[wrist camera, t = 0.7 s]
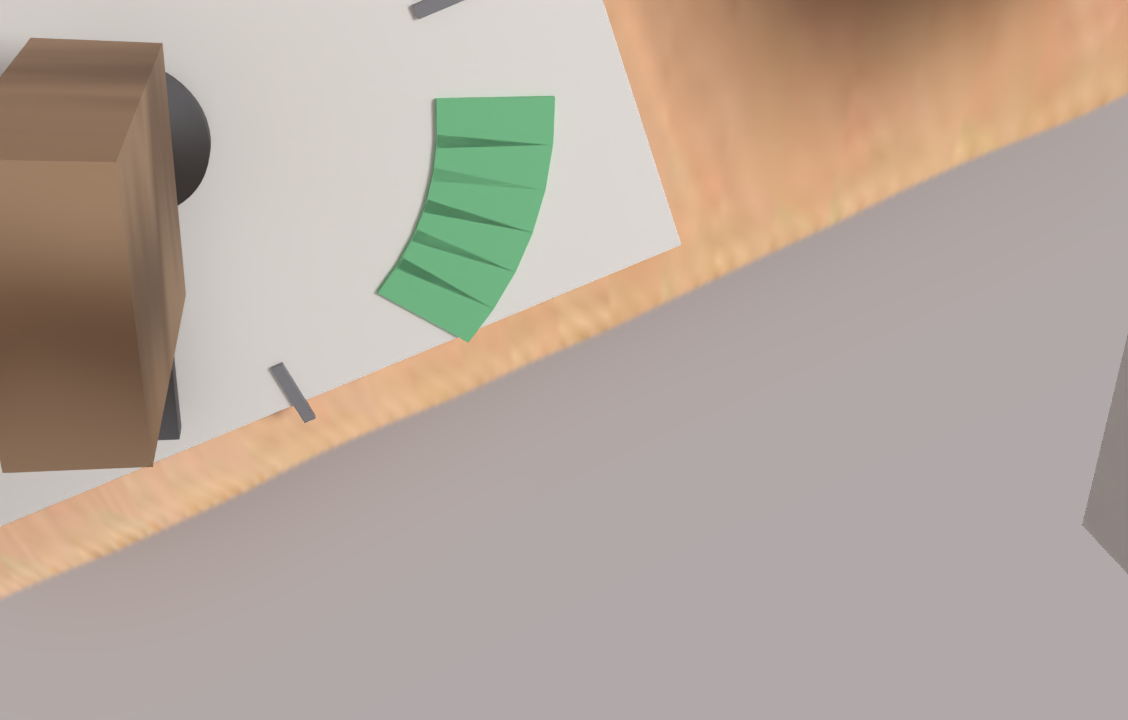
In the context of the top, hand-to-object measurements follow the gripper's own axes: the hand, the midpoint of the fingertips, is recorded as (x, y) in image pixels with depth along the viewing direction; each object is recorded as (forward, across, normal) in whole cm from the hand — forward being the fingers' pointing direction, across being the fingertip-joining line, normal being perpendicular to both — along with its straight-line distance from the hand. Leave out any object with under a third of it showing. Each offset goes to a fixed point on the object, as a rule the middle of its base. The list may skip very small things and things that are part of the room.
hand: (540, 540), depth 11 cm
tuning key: (+23, -8, -6) cm, 25 cm away
